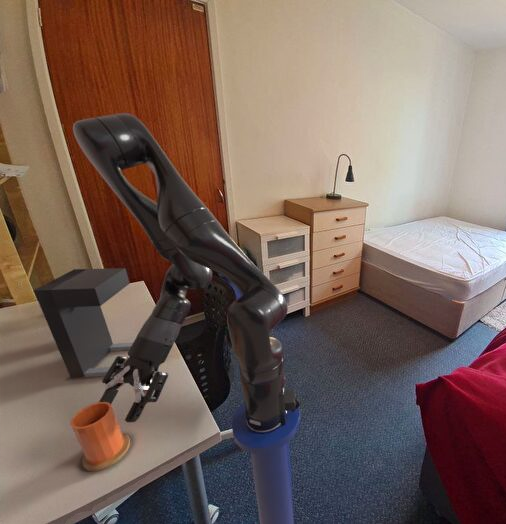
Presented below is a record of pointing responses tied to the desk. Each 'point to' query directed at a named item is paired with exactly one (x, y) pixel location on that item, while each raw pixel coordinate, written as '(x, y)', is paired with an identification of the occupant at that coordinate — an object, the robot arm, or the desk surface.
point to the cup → (98, 432)
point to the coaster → (111, 461)
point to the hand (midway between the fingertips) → (116, 414)
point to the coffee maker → (82, 317)
